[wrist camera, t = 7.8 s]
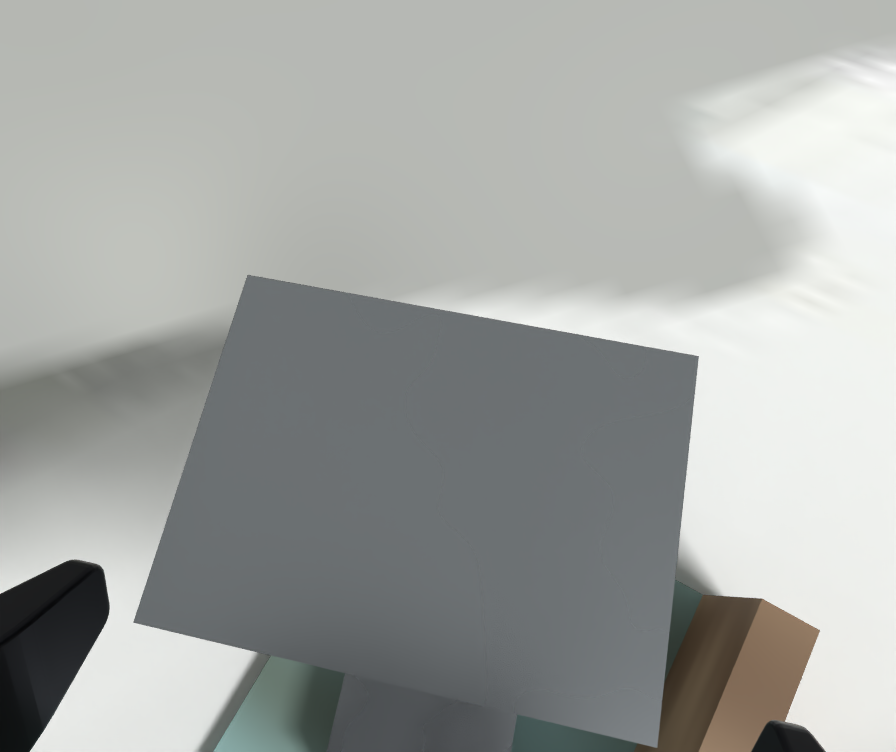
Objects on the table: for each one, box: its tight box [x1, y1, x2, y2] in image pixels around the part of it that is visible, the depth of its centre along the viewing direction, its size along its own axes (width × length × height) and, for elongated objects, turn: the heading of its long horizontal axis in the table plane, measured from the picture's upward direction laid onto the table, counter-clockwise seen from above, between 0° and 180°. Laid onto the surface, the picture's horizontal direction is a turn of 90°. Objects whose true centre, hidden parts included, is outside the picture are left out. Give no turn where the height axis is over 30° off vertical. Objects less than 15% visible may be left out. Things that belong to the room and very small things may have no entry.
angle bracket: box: [134, 275, 699, 752], centre depth 11 cm, size 8×4×12 cm, turn 168°
